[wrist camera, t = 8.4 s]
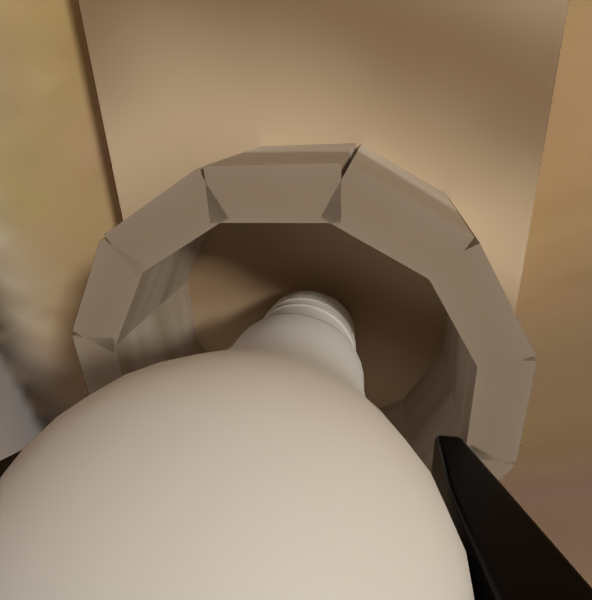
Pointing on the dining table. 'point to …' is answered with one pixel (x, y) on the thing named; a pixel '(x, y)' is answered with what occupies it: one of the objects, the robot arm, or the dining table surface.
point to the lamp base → (328, 191)
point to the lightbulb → (231, 482)
